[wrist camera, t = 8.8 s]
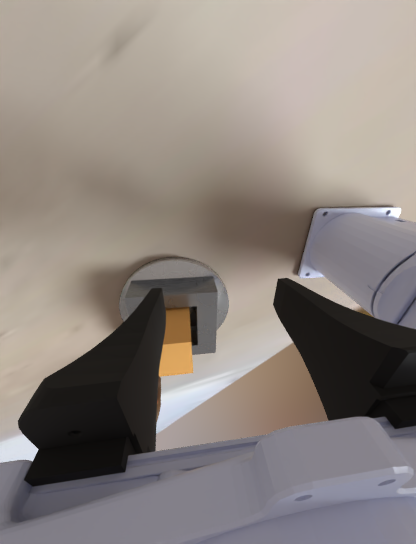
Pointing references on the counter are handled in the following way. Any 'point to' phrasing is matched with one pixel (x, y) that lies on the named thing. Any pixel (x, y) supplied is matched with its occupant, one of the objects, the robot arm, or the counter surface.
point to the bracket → (182, 296)
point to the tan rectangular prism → (176, 343)
